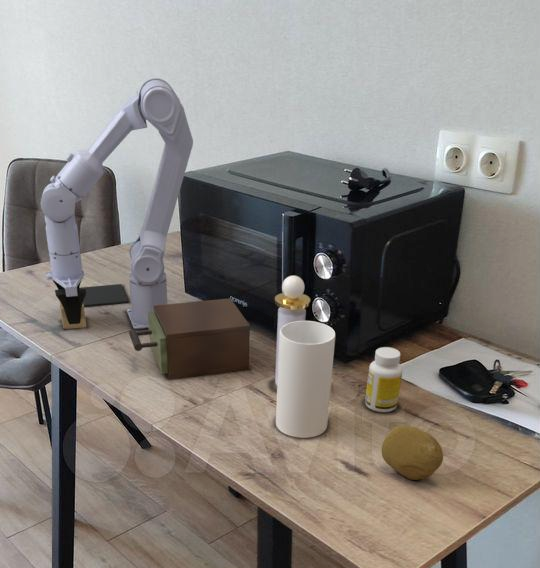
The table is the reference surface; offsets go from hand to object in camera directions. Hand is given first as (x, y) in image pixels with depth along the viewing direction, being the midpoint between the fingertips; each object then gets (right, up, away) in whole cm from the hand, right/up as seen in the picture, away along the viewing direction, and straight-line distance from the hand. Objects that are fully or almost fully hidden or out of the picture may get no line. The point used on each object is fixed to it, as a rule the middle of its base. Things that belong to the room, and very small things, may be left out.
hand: (73, 317), depth 140 cm
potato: (+59, -29, -38) cm, 76 cm away
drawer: (+23, -9, -11) cm, 27 cm away
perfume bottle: (+42, -15, -17) cm, 48 cm away
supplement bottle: (+58, -18, -22) cm, 64 cm away
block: (0, -1, +1) cm, 1 cm away
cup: (+44, -22, -27) cm, 56 cm away
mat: (+2, +7, +13) cm, 15 cm away
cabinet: (+26, -9, -10) cm, 30 cm away
